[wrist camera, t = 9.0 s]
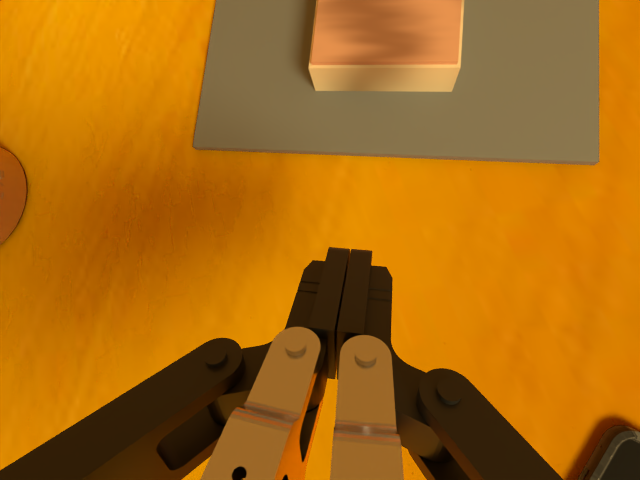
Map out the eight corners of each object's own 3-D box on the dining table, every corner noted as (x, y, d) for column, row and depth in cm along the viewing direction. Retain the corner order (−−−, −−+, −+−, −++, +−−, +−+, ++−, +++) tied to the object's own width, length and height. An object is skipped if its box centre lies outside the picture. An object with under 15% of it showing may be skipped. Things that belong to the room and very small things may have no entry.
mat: (196, 149, 26) (192, 146, 25) (226, -44, 28) (224, -50, 28) (593, 165, 21) (599, 161, 21) (594, -67, 23) (598, -74, 23)
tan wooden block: (307, 65, 22) (325, -90, 23) (315, 90, 24) (331, -49, 26) (461, 64, 20) (470, -102, 22) (451, 91, 23) (460, -57, 24)
